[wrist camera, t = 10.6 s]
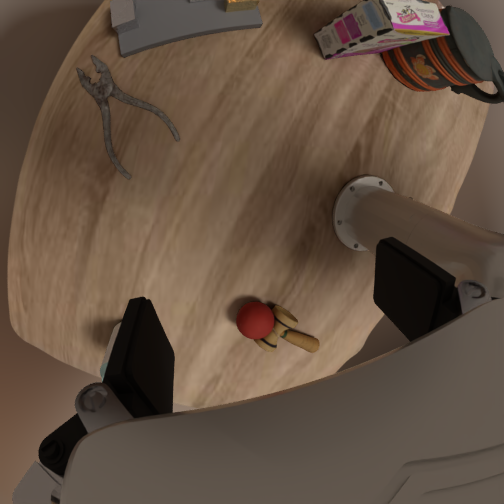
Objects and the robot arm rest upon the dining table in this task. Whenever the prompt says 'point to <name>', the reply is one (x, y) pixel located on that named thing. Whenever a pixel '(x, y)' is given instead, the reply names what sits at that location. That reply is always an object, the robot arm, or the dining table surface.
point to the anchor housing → (123, 15)
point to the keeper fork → (240, 5)
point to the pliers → (109, 88)
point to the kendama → (271, 327)
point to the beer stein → (450, 60)
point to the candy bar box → (380, 27)
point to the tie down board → (182, 22)
